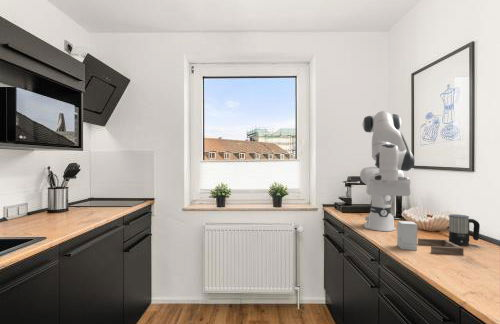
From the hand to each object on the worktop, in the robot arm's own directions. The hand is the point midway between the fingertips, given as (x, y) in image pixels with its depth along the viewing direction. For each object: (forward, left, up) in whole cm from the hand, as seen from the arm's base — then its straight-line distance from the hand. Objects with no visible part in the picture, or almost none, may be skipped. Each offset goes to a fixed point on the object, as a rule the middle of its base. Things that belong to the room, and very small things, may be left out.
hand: (387, 204), depth 155 cm
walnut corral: (0, +25, -21) cm, 33 cm away
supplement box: (0, +10, -21) cm, 23 cm away
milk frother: (-17, +43, -21) cm, 51 cm away
